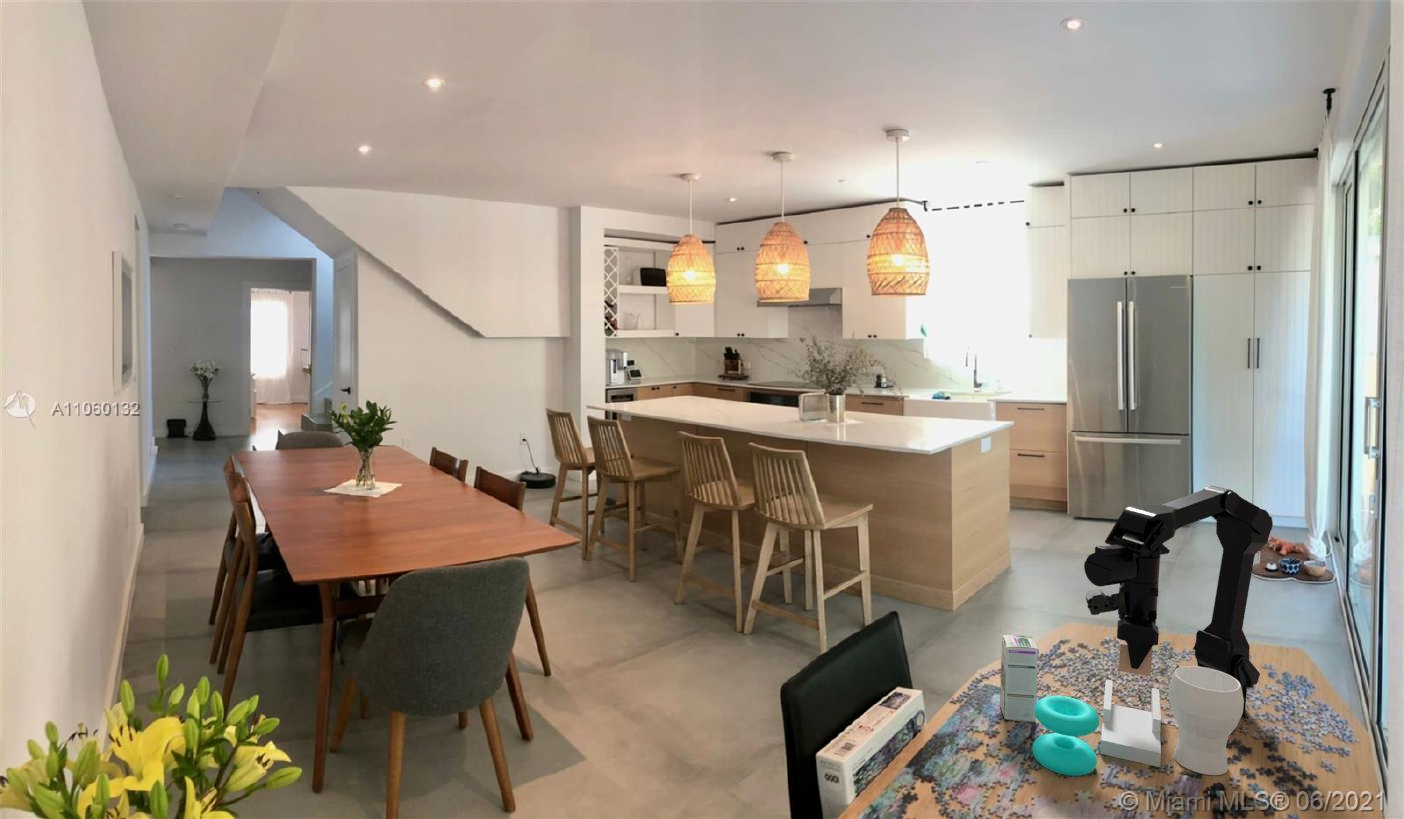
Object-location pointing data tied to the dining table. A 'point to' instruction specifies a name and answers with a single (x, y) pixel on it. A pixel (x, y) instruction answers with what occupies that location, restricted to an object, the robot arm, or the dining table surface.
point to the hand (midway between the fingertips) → (1134, 662)
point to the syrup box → (1018, 678)
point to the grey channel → (1131, 730)
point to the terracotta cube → (1126, 666)
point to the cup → (1204, 716)
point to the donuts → (1065, 735)
